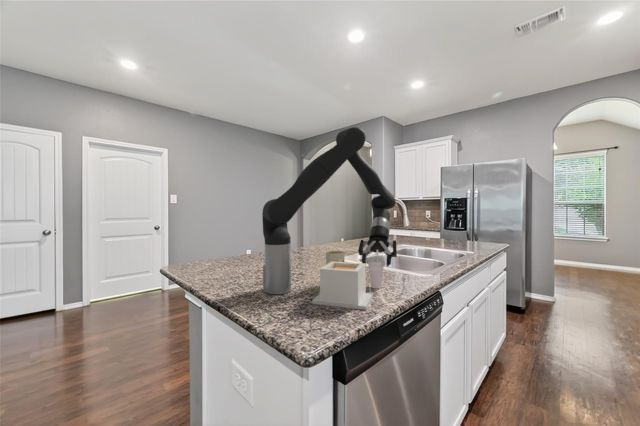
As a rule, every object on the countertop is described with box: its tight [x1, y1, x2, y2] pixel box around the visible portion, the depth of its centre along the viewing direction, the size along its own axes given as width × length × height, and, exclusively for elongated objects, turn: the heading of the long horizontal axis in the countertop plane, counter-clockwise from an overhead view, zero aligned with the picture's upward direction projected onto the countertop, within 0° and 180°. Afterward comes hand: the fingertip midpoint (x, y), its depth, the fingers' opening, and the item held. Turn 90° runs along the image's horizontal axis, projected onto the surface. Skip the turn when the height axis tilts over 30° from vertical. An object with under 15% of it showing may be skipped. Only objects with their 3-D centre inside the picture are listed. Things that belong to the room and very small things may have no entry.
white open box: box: [311, 261, 374, 311], centre depth 89 cm, size 17×13×11 cm
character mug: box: [325, 250, 345, 265], centre depth 104 cm, size 11×7×13 cm, turn 13°
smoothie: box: [366, 250, 386, 290], centre depth 102 cm, size 6×6×14 cm
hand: (375, 264), depth 101 cm, fingers open, 8 cm apart
